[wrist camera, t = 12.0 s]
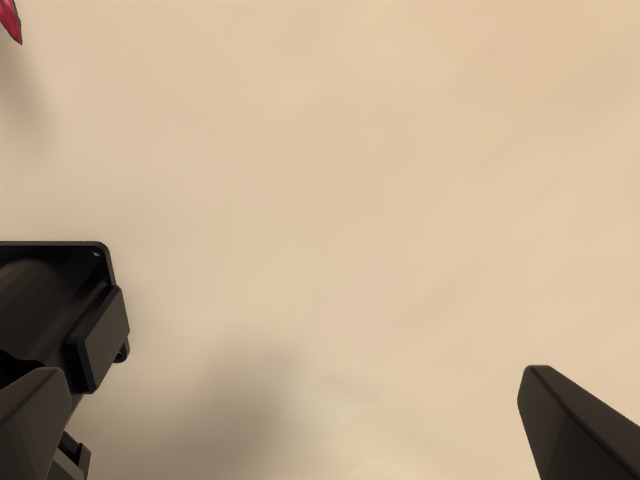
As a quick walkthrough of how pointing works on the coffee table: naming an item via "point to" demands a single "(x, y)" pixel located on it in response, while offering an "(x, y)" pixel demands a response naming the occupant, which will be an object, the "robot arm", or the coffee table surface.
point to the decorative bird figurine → (10, 19)
